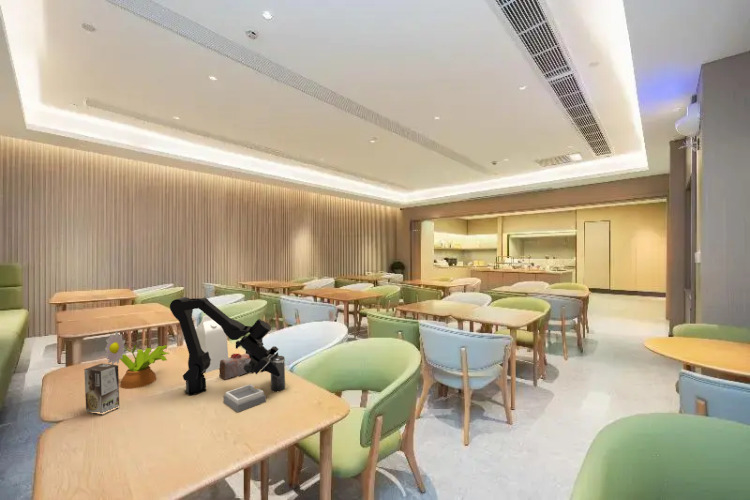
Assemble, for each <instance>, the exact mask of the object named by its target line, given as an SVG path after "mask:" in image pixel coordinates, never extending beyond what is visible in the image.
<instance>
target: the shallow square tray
mask: <svg viewBox="0 0 750 500" xmlns="http://www.w3.org/2000/svg"><path fill="white" fill-rule="evenodd" d="M224 393H225V395H223V403H224V404H225V405H226V406H228V407H230V408H231V409H232V410H233V411H235V412H237V413H240V412H242V411H245V410H249V409H251V408H253V407H255V406H256V407H257V406H258V405H262V404H264V403H266V401H267V398H266V397H267V396H266V394H265V393H264V390H262V389H260V388H259V387H257V386H256V385H253V384H251V383H249V384H246V385H243V386H240V387H237V388H235V389H232V390H228V391H225V392H224Z"/></svg>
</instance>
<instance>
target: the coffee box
mask: <svg viewBox="0 0 750 500" xmlns="http://www.w3.org/2000/svg"><path fill="white" fill-rule="evenodd" d="M119 377H120V376H119V365H118V364H113V365H112V363H111V364H110V363H104V362H103V363H102V362H101V363H99V364H96V365H92V366H90V367H88V368H84V393H85V395H84V396H85V412H86V413H88V412H100V413H103V412H106V411H108V410H111V409H113V408H116V407H118V406H119V407H120V381H119V379H120V378H119Z"/></svg>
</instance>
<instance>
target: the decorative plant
mask: <svg viewBox="0 0 750 500" xmlns="http://www.w3.org/2000/svg"><path fill="white" fill-rule="evenodd" d="M114 334H115V335H114ZM114 334H111V333H110V334H109V337H108V338H106V339H105V342H106V345H105V346H106V347H105V348H104V351H105V353H106V354H105V357H106V359H107V360H108V362H107V364H110V363H111V365H115V364H116V365H118V364H119V363H120V362H122V363H123V365H125V366H126V367H127V370H126V371H125V374H124V375H123V377H122V378H121V382H120V384H119V388H121V389H125V390H129V389H137V388H142V387H146V386H149V385H151V384H153V383H155V382H156V381H157V377H156V373H155V372H154V370H152V369H151V366H150V365H151V364H154V363H156V361H158V360H161V361H163V362H165V361H168V359H167V357H166V356H165V355H169V354H170V352H165V351H164V350H165V349H166V348H168V345H167V344H166V345H165V344H164V345H163V346H161V345H158V346H157V347H155V349H154V350H153V351H152V349H153V348H152V347H146V348H145V349H144V350H143V349H142V348H141V349H139V348H138V349H137V344H134V346H133V347H132V348H133V349H132V350H130V349H128V347H125V343H126V339H123V333H120V334H119V333H118V330H116V331H115V333H114ZM125 350H127V351H128V352H130V353H131V354H132V356H133V358H134V361H133V360H132V359H130V357H128V355H127V354H123V353H124V351H125ZM136 350H137V351H136ZM135 351H136V352H137V353H136V355H135ZM151 351H152V352H151Z"/></svg>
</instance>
